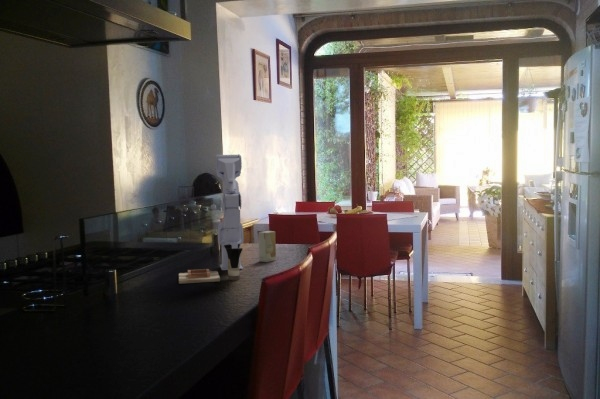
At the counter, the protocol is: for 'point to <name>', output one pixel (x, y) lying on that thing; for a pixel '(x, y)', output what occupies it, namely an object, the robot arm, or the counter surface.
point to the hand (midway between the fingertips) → (233, 266)
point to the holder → (198, 276)
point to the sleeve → (233, 272)
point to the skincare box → (267, 246)
